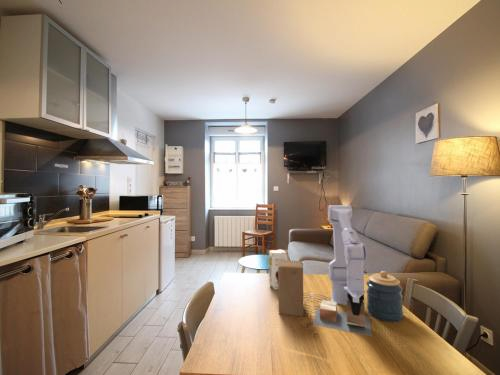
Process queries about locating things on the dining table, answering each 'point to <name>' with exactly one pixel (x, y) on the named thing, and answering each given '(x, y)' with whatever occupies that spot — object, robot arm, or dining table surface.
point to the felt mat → (343, 323)
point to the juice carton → (275, 266)
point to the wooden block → (290, 288)
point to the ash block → (328, 310)
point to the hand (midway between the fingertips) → (355, 314)
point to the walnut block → (356, 316)
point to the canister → (384, 297)
